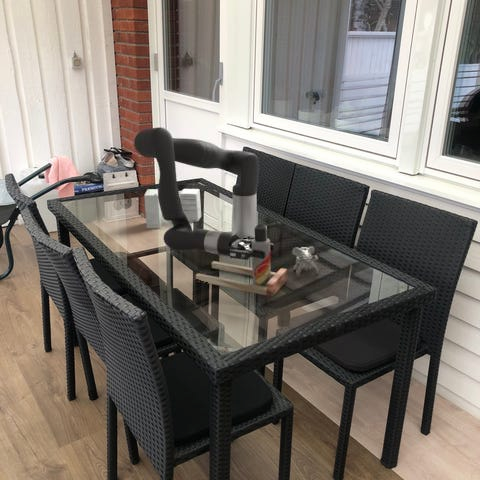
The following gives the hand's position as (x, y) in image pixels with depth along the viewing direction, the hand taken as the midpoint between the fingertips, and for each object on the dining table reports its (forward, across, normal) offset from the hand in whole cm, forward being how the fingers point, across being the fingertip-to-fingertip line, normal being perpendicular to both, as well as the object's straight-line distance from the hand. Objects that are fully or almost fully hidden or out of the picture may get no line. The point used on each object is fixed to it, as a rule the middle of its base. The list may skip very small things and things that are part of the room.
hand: (269, 251), depth 155 cm
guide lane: (-10, 0, +12) cm, 16 cm away
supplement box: (-56, +45, +12) cm, 73 cm away
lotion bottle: (-3, 0, +12) cm, 12 cm away
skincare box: (-66, +32, +12) cm, 75 cm away
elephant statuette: (+5, +16, +12) cm, 21 cm away
